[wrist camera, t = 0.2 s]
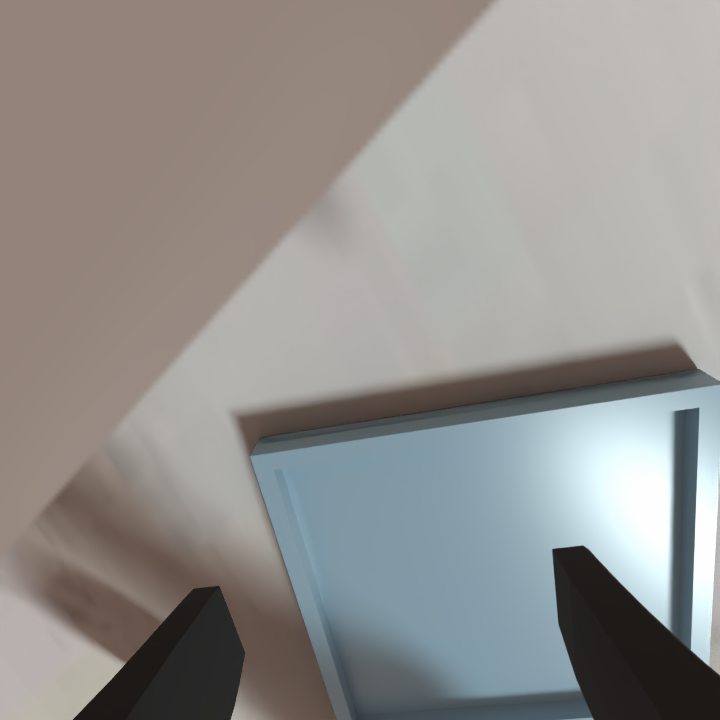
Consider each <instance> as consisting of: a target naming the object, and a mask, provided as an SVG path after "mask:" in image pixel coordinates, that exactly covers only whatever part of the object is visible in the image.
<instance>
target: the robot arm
mask: <svg viewBox="0 0 720 720" xmlns="http://www.w3.org/2000/svg"><path fill="white" fill-rule="evenodd" d="M552 555H553V567H554V579H555V591H556V603H557V614H558V625H559V628H560V631H561V634H562V637H563V640H564V643H565V646H566V650H567V653H568V656H569V659H570V662H571V665H572V668H573V671H574V674H575V677H576V680H577V682H578V684H579V687H580V689H581V691H582V694H583V696H584V698H585V701H586V703H587V705H588V708H589V710H590V712H591V715H592V717H593V719H594V720H720V675H719V674H717V673H716V672H715V671H714V670H713V669H712V668H710V667H709V666H708V665H707V664H706V663H705V662H704V661H702V660H701V659H700V658H699V657H698V656H697V655H696V654H695V653H693V652H692V651H691V650H690V649H689V648H688V647H687V646H686V645H684V644H683V643H682V642H681V641H680V640H679V639H678V638H677V637H676V636H675V635H674V634H673V633H672V632H671V631H669V630H668V629H667V628H666V627H665V626H664V625H663V624H662V623H661V622H660V621H659V620H658V619H657V618H656V617H654V616H653V615H652V614H651V613H650V612H649V611H648V610H647V609H646V608H645V607H644V606H643V605H642V604H641V603H640V602H639V601H638V600H637V599H636V598H635V597H634V596H633V595H632V594H631V593H630V592H629V591H628V590H627V589H626V588H625V587H624V586H623V585H622V584H621V583H620V582H619V581H618V580H617V579H616V578H615V577H614V576H613V575H612V574H611V573H610V572H609V571H608V569H607V568H606V567H605V566H604V565H603V564H602V563H601V562H600V561H599V560H598V559H597V558H596V557H595V556H594V554H593V553H592V552H591V551H590V550H589V549H588V548H586V547H585V546H583V545H582V546H573V547H564V548H555V549H552ZM244 655H245V652H244V649H243V646H242V644H241V641H240V639H239V636H238V633H237V631H236V628H235V626H234V623H233V620H232V618H231V615H230V613H229V610H228V607H227V605H226V602H225V600H224V597H223V594H222V592H221V589H220V587H219V586H214V587H205V588H196V589H193V590H192V591H191V592H190V593H189V594H188V595H187V596H186V598H185V599H184V600H183V601H182V602H181V603H180V604H179V605H178V606H177V607H176V608H175V610H174V611H173V612H172V613H171V614H170V615H169V616H168V617H167V619H166V620H165V621H164V622H163V623H162V624H161V625H160V626H159V627H158V629H157V630H156V631H155V632H154V633H153V634H152V635H151V636H150V638H149V639H148V640H147V641H146V642H145V643H144V644H143V645H142V646H141V648H140V649H139V650H138V651H137V652H136V653H135V654H134V655H133V656H132V658H131V659H130V660H129V661H128V662H127V663H126V664H125V665H124V666H123V667H122V669H121V670H120V671H119V672H118V673H117V674H116V675H115V676H114V677H113V678H112V680H111V681H110V682H109V683H108V684H107V685H106V686H105V687H104V688H103V689H102V690H101V691H100V692H99V693H98V694H97V695H96V696H95V697H94V698H93V699H92V700H91V701H90V702H89V703H88V704H87V705H86V707H85V708H84V709H83V710H82V711H81V712H80V713H79V714H78V715H77V716H76V717H75V718H74V719H73V720H231V716H232V713H233V709H234V706H235V702H236V697H237V692H238V687H239V682H240V677H241V672H242V666H243V661H244Z"/></svg>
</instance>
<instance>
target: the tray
mask: <svg viewBox="0 0 720 720" xmlns="http://www.w3.org/2000/svg"><path fill="white" fill-rule="evenodd" d="M250 458H251V461H252V464H253V468H254V471H255V474H256V477H257V480H258V483H259V486H260V489H261V492H262V495H263V498H264V501H265V504H266V507H267V510H268V513H269V516H270V519H271V522H272V525H273V528H274V531H275V535H276V538H277V541H278V544H279V547H280V550H281V553H282V556H283V559H284V562H285V565H286V568H287V571H288V574H289V577H290V580H291V583H292V586H293V589H294V592H295V595H296V598H297V602H298V605H299V608H300V611H301V614H302V617H303V620H304V623H305V626H306V629H307V632H308V635H309V638H310V641H311V644H312V647H313V650H314V653H315V656H316V659H317V662H318V665H319V668H320V672H321V675H322V678H323V681H324V684H325V687H326V690H327V693H328V696H329V699H330V702H331V705H332V708H333V711H334V714H335V717H336V720H594V719H593V717H592V715H591V712H590V710H589V708H588V705H587V703H586V701H585V698H584V696H583V694H582V691H581V689H580V687H579V684H578V682H577V680H576V677H575V674H574V671H573V668H572V665H571V662H570V659H569V656H568V653H567V650H566V646H565V643H564V640H563V637H562V634H561V631H560V628H559V625H558V614H557V603H556V591H555V579H554V567H553V555H552V549H555V548H564V547H573V546H582V545H583V546H585V547H586V548H588V549H589V550H590V551H591V552H592V553H593V554H594V556H595V557H596V558H597V559H598V560H599V561H600V562H601V563H602V564H603V565H604V566H605V567H606V568H607V569H608V571H609V572H610V573H611V574H612V575H613V576H614V577H615V578H616V579H617V580H618V581H619V582H620V583H621V584H622V585H623V586H624V587H625V588H626V589H627V590H628V591H629V592H630V593H631V594H632V595H633V596H634V597H635V598H636V599H637V600H638V601H639V602H640V603H641V604H642V605H643V606H644V607H645V608H646V609H647V610H648V611H649V612H650V613H651V614H652V615H653V616H654V617H656V618H657V619H658V620H659V621H660V622H661V623H662V624H663V625H664V626H665V627H666V628H667V629H668V630H669V631H671V632H672V633H673V634H674V635H675V636H676V637H677V638H678V639H679V640H680V641H681V642H682V643H683V644H684V645H686V646H687V647H688V648H689V649H690V650H691V651H692V652H693V653H695V654H696V655H697V656H698V657H699V658H700V659H701V660H702V661H704V662H705V663H706V664H707V665H708V666H709V656H710V638H711V619H712V601H713V582H714V563H715V545H716V526H717V508H718V489H719V470H720V381H718V380H716V379H715V378H713V377H711V376H710V375H708V374H706V373H705V372H703V371H701V370H700V369H695V370H689V371H682V372H676V373H669V374H663V375H657V376H650V377H644V378H638V379H631V380H625V381H619V382H612V383H606V384H600V385H593V386H587V387H581V388H574V389H568V390H561V391H555V392H549V393H542V394H536V395H530V396H523V397H517V398H511V399H504V400H498V401H492V402H485V403H479V404H473V405H466V406H460V407H453V408H447V409H441V410H434V411H428V412H422V413H415V414H409V415H403V416H396V417H390V418H384V419H377V420H371V421H365V422H358V423H352V424H346V425H339V426H333V427H326V428H320V429H314V430H307V431H301V432H295V433H288V434H282V435H276V436H269V437H263V438H259V440H258V442H257V444H256V446H255V448H254V449H253V451H252V453H251V455H250Z"/></svg>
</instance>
